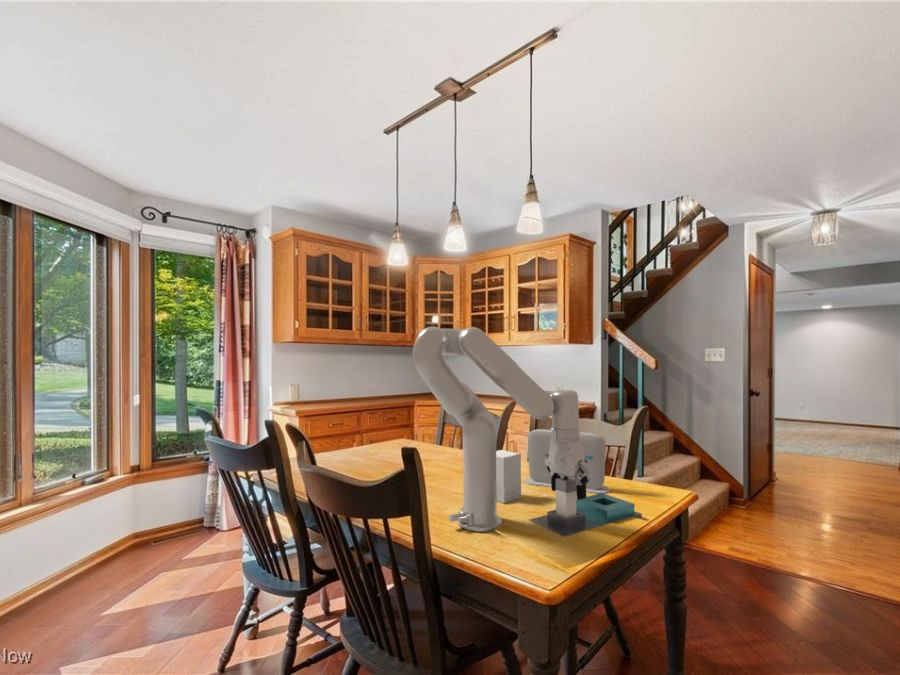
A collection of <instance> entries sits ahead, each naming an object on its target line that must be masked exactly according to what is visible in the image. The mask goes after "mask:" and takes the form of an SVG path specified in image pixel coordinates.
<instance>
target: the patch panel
mask: <svg viewBox="0 0 900 675" xmlns="http://www.w3.org/2000/svg"><path fill="white" fill-rule="evenodd" d="M633 517H634V518H635V519H640V518H643V516H642V513H641V512H638V511H635V503H633V502H630V501H627V500H624V499H620V498H618V497H616V496H612V495H610V494H607V493H606V494H603V493H600V494H592V495H588V496H586V498H584V499H581V500H578V499H577V498H576V516H572V517H568V518H565V517H563V516H560V515H558V514H556V509H553V510H548V511H547V514H546V515H542V516H538V517H535V518H531V519H530V518H529V519H528V521H529V522H532V523H534V524H536V525H538V526H540V527H542V528H543V529H546V530H548V531H551V532H553V533H555V534H557V535H559V536H560V537H568V536H571V535H574V534H578V533H581V532H585V531H588V530H591V529H595V528H598V527H602V526H606V525H609V524H612V523H616V522H619V521H622V520H626V519H629V518H633Z"/></svg>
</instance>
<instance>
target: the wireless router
mask: <svg viewBox="0 0 900 675" xmlns="http://www.w3.org/2000/svg"><path fill="white" fill-rule="evenodd" d="M551 437H553V432H552V429H543V428H542V429H541V428H537V429H534V430H531V431H530V432H529V433H527V452H528V457H527V458H528V473H529V477H526V478H524V480H523V482H524V483H525V484H526V483H527V484H526V485H529V484H530V486H535V485H536V486H537V487H542V486H545V487H544V488H549V487H551V477H550V475H549V471H548V470H547V466H546V463H545V459H547V458H549V448H550V440H551ZM580 440H581V442H582V446H583V452H584V460H585V464H586V465H587V466H588V467H589V468H590V469H591V470H592V471H593V473H592V475H591V477H590V478H591V479H590V480H589V481H588V483H587V484H586V492H587V493H586V494H593V493H594V494H593V495H596V494H600V493H603V494H606V495H607V494H609V493H610V492H611V489H610V487H608V486H605V485H604V484H605V477H606V476H605V475H606V474H605V473H606V472H605V471H606V440H605V438H604V437H603V436H602V435H600V434H597V433H594V432H584V431H583V432H580ZM559 475H560V474H559ZM584 475H585V473H584ZM560 477H561V478H563V477H564V475H560ZM568 478H571V479H574V480H575V478H574V477H568ZM579 478H580V480H581V477H580V476H579ZM576 485H578V483H577V481H576ZM536 486H535V487H536ZM551 489H552V487H551Z"/></svg>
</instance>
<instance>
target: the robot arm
mask: <svg viewBox="0 0 900 675" xmlns="http://www.w3.org/2000/svg"><path fill="white" fill-rule="evenodd" d="M443 356H449V357H450V356H454V357H455V356H456V357H457V356H459V357H461V356H463V357H465V356H466V357H467V358H468V359H469V360H470V361H471V362H473V364H475V365H476V367H477V368H478V369H479V370H481V371H482V373H483V374H485V375H486V376H487V377H488V378H489V379H490V380H491V381H492V382H493V383H494V384H496V385H497V386H498V387H499V388H500V389H502V390H503V391H504V392H505V393H507V395H509V396H510V398H512V399H513V400H514V401H515V402H516V403H517V404H518V405H519V406H520V407H521V408H522V409H523V410H524V411H525V412H526V413H527V414H529V415H530V417H532V418H533V419H536V420H541V421H542V420H543V421H544V420H547V419H548V418H549V417H551V424H552V425H551V426H552V428H551V430H552V432H553V437H551V440H550V448H549V458H547V459H545V463H546V466H547V470H548V471H549V475H550V477H551V487H552V488H551V491H552V492H556V479H558V478H561V477H560V475H564V476H567V477H574V478H575V480H576V481H577V483H578V485H576V499H578V500H581V499H584V498H586V497H587V493H586V484H587V483H588V481H589V480H590V479H591V478H590V477H591V475H592V473H593V471H592V470H591V469H590V468H589V467H588V466H587V465H586V464H585V460H584V452H583V446H582V442H581V440H580V414H579V395H578V393H577V391H575V390H572V389H560V390H554V391H553V390H544V389H543V388H542V387H541V386H540V385H539V384H538V383H537V382H536V381H534V380H533V379H532V378H531V376H529V375H528V374H527V373H526V372H525V371H524V370H523V369H522V367H520V366H519V364H518V363H517V362H516V361H515V360H514V359H513V358H512V357H511V356H510V355H508V354H507V353H506V352H505V351H504V350H503V349H502V348H501V347H500V346H499V345H498V344H497V343H496V342H495V341H494V340H493V339H491V338H490V337H489V336H488V335H487V334H486V333H485V332H484V331H483V330H482V329H481V328H479V327H475V326H470V327H467V328H440V327H437V326H428V327H425V328H423V330H421V331H420V332H419V334H418V335H417V337H416V338H415V341H414V344H413V348H412V361H413V366H414V368H415V370H416V372H417V373H418V375H419V377H420V378H421V379H422V381H423V382H424V384H426V386H427V388H428V389H429V390H430V392H431V393H432V394H433V396H434V397H435V398H436V400H437V401H438V402H439V404H440V405H441V407H442V408H443V410H444V411H445V413H447V414H448V415H450V416H454V417H453V418H455V419H456V421H457V422H458V424H460V426H461V427H462V454H463V455H462V459H463V461H462V465H463V466H462V467H463V468H462V470H463V472H462V473H463V475H462V476H463V478H462V479H463V506H462V507H460V509H459V511H458V512H457V513H452V514H449V515H448V520H449V522H450V523H452V522H456V521H457V523H458V526H459V527H461V528H463V529H464V530H467V531H472V532H479V533H480V532H481V533H482V532H484V533H485V532H491V531H495V530H496V528H497V527H499V526H500V525H501V524H502V523H503V519H502V518H501V516H499V515H497V512H498V511H497V510H498V509H497V507H498V506H497V502H498V501H497V489H496V451H497V440H498V439H497V438H498V437H497V425H496V422H495V418H494V417H493V415H492V414H491V412H490V411H489V410H488V408H487V407H486V406H485V405H484V403H483V402H482V401H481V399H480V398H479V397H478V395H476V393H475V392H474V391H473V389H472V388H471V387H470V386H469V385H468V384H466V383H464V382H462V381H461V380H460V379H459V378H458V376H456V374H455V372H453V370H452V369H451V367H450V366H449V364H447V362H446V361H445V359H444V357H443ZM584 473H585V475H584ZM559 474H560V475H559ZM579 476H580V477H581V480H580V478H579Z"/></svg>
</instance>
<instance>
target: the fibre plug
mask: <svg viewBox="0 0 900 675" xmlns="http://www.w3.org/2000/svg"><path fill="white" fill-rule="evenodd" d="M576 499H577V495H576V480H574V479H571V478H568V477H567V476H564V477H563V478H558V479H556V491H555V510H556V514H558V515H560V516H563V517H565V518H568V517H572V516H576Z"/></svg>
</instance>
